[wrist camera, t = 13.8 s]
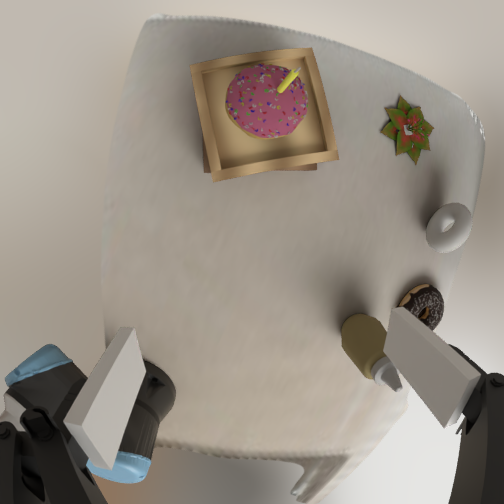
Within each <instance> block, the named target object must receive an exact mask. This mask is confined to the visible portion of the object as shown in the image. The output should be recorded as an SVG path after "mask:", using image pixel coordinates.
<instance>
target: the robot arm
mask: <svg viewBox="0 0 504 504" xmlns="http://www.w3.org/2000/svg"><path fill="white" fill-rule="evenodd" d="M383 352H384V353H385V354H386V355H387V357H388V358H389V359H390V360H391V362H392V363H393V364H394V365H395V366H396V368H397V369H398V370H399V371H400V373H401V374H402V375H403V376H404V378H405V379H406V380H407V381H408V383H409V384H410V385H411V386H412V388H413V389H414V390H415V391H416V393H417V394H418V395H419V396H420V398H421V399H422V400H423V401H424V403H425V404H426V405H427V407H428V408H429V409H430V411H431V412H432V413H433V414H434V416H435V417H436V418H437V420H438V421H439V422H440V424H441V425H442V426H443V427H444V428H446V427H448V426H450V425H452V424H454V423H456V422H457V420H458V419H459V417H460V415H461V413H463V414H464V415H465V418H464V420H463V421H462V423H461V425H460V427H459V428H458V430H457V432H456V434H458V433H459V431H460V430H461V429H462V433H461V443H460V450H459V457H458V463H457V469H456V474H455V479H454V484H453V488H452V492H451V496H450V500H449V504H504V376H503V375H502V374H499V373H490V374H487V373H486V372H485V371H483V370H482V369H481V368H480V367H479V366H478V365H477V364H476V363H475V362H473V361H472V360H470V358H469V357H468V356H466V355H465V354H464V353H463V352H462V351H461V350H460V349H458V348H457V347H454V346H452V345H450V344H449V345H448V344H447V343H446V342H445V341H443V340H442V339H441V338H440V337H439V336H437V335H436V334H435V333H434V332H433V331H432V330H430V329H429V328H428V327H427V326H426V325H425V324H423V323H422V322H421V321H420V320H419V319H417V318H416V317H415V316H414V315H412V314H411V313H410V312H409V311H408V310H406V309H405V308H404V307H398V308H392V309H391V315H390V320H389V326H388V331H387V336H386V340H385V345H384V349H383ZM5 382H6V384H7V386H9V389H8V390H7V391H6V392H5V394H4V402H5V410H4V412H3V413H2V414H1V416H0V504H108V503H107V501H106V500H105V498H104V496H103V495H102V493H101V491H100V489H99V488H98V486H97V484H96V482H95V480H94V478H93V477H92V474H91V473H93V474H95V475H97V476H100V477H102V478H105V479H108V480H111V481H116V482H121V483H136V482H140V481H142V480H143V479H144V478H145V477H146V474H147V472H148V469H149V466H150V465H151V457H152V453H153V449H154V445H155V440H156V436H157V432H158V428H159V424H160V422H161V421H162V420H163V419H164V417H165V416H166V415H167V414H168V412H169V411H170V410H171V409H172V407H173V405H174V401H175V397H176V390H175V387H174V384H173V382H172V381H171V379H170V378H169V377H168V376H167V375H166V374H165V373H164V372H163V371H162V370H160V369H159V368H158V367H156V366H154V365H152V364H150V363H148V362H146V361H143V359H142V355H141V351H140V348H139V344H138V340H137V336H136V332H135V328H130V327H121V328H120V329H119V331H118V332H117V334H116V335H115V337H114V338H113V340H112V341H111V343H110V344H109V346H108V347H107V349H106V350H105V352H104V354H103V355H102V357H101V358H100V360H99V362H98V363H97V365H96V366H95V368H94V370H93V371H92V373H91V375H90V376H89V378H87V377H86V376H85V375H84V374H83V373H82V371H81V370H80V369H79V368H78V367H77V366H76V365H75V364H74V363H73V361H72V360H71V359H69V358H68V357H67V356H66V355H65V354H64V353H63V352H62V351H61V350H60V349H59V348H58V347H57V346H55V345H53V344H48V345H45V346H44V347H42V348H41V349H39V350H38V351H36V352H35V353H34V354H32V355H31V356H30V357H28V358H27V359H26V360H25V361H23V362H22V363H21V364H20V365H19V366H18V367H17V368H15V369H14V370H13V371H12V372H11V373H9V374H8V375H7V376H6V377H5Z"/></svg>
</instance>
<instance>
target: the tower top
mask: <svg viewBox="0 0 504 504" xmlns="http://www.w3.org/2000/svg"><path fill="white" fill-rule="evenodd" d="M261 63H263V64H264V65H267V64H268V65H269V64H272V65H276V66H281V67H287V69H288V70H293V69H297V68H298V67H301V69H300V70H299V71H298V72H299V74H298V77H299V78H300V80H302V83H304V84H305V85H304V87H305V90H306V91H307V94H308V96H307V98H308V109H307V113H306V117H304V119H303V120H302V121H301V122H300V124H299V125H298V126H297V127H296V129H295V130H294V131H293V132H292V133H291V134H289V135H287V136H284V137H279V138H274V139H267V140H260V139H255V138H252V137H250V136H248V135H247V134H246V133H245V132H243V131H242V130H241V129H239V128H238V127H237V126H236V125H235V124H234V123H233V122H232V121H231V120H230V119H229V117H228V115H227V113H226V109H225V98H226V92H227V88H228V87H229V84H230V83H231V81H232V80H233V79H234V78H235V75H236V74H238V73H239V72H241V71H242V70H243V69H246V68H249V67H248V66H251V67H252V66H255V65H259V64H261ZM190 70H191V75H192V81H193V86H194V91H195V96H196V101H197V106H198V111H199V116H200V121H201V126H202V131H203V136H204V141H205V146H206V151H207V156H208V160H209V165H210V170H211V174H212V179H213V182H217V181H221V180H226V179H231V178H235V177H240V176H245V175H250V174H255V173H260V172H265V171H271V170H276V169H282V168H288V167H294V166H300V165H306V164H313V163H319V162H326V161H333V160H339V156H338V151H337V146H336V141H335V136H334V131H333V126H332V122H331V117H330V113H329V109H328V104H327V100H326V96H325V92H324V88H323V85H322V81H321V77H320V73H319V70H318V66H317V63H316V59H315V56H314V53H313V50H312V48H295V49H282V50H272V51H263V52H256V53H248V54H242V55H236V56H230V57H225V58H220V59H215V60H210V61H206V62H201V63H197V64H193V65H190Z"/></svg>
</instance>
